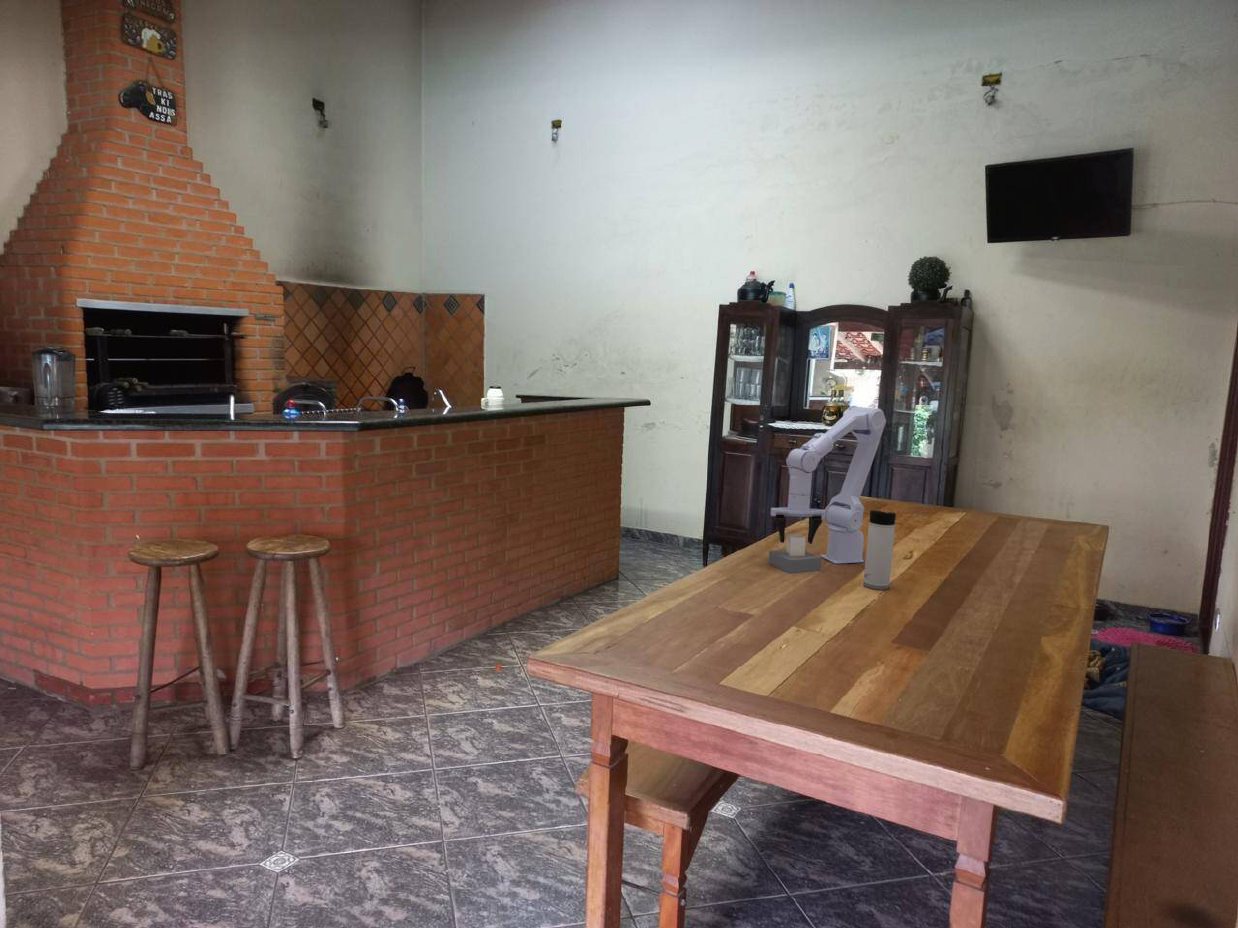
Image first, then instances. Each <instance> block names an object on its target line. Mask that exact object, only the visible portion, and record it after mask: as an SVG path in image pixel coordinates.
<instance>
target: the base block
mask: <svg viewBox="0 0 1238 928" xmlns="http://www.w3.org/2000/svg"><path fill="white" fill-rule="evenodd" d="M768 564H769V565H771V566H773V567H775V568H777V569H779V570H781V571H783V572H785V573H788V574H800V573H811V572H820V571H821V569H822V568H821V566H822V557H821V556H817V555H815V554H814V553H811V552H809V551H806V550H805V556H790V555H789V554H788V553H786V548H785V549H776V550H775V549H773V550H768Z"/></svg>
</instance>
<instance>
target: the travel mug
mask: <svg viewBox="0 0 1238 928" xmlns="http://www.w3.org/2000/svg"><path fill="white" fill-rule="evenodd" d="M896 516H897V513H895V512H891V511H888V512H885V511H881V510H874V509H873V510H870V511H869V521H868V530H867V541H866V551H865V560H864V561H865V563H864V572H863V573H864V575H863V586H864V587H865V588H868V589H871V590H875V591H877V590H878V591H885V590H888V589H889V588H890V583H891V582H890V581H891V574H892V573H891V571H892V563H893V562H892V559H893V550H894V541H895V538H894V537H895V529H896V528H895V527H896V518H897V517H896Z"/></svg>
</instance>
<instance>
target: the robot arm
mask: <svg viewBox="0 0 1238 928" xmlns="http://www.w3.org/2000/svg"><path fill="white" fill-rule="evenodd" d="M886 422H887V419H886V417H885V413H884V411H883V409H881V408H877V407H876V408H875V407H874V408H873V407H872V408H870V407H865V406H858V405H851V406H849V407H848V408H847V409H846V410H844V411H843V412H842V417H841V418H839V420H837V422H835V423H834V424H833V425H832V426H831V427H830V428H829V429H828V430H827V431H825V432H824V433H823V432H819V433H815V434H814V435H813V437H811V439H810V440H808V441H807V442H805V443H804V444H802V446H801V447H799V448H794V449H792V450H790V452H789V454H788V456H787V458H786V459H785V461H786V462H785V463H786V466H787V468H788V474H789V482H788V484H789V485H788V487H789V488H788V501H787V507H786V506H784V507H783V506H782V507H770V515H771V517H773V518H774V520H775V523H776V526H777V531H778V535H779V541H780V543H781V544H783V543H785V538H786V537H785V535H786V534H785V532H786V524H787V519H786V517H803V518H804V517H805V518H806V517H807V518H808V534H807V543H808V544H809V545H811V544H812V545H813V541H814V538H815V536H816V533H817V531H818V529H819V527H820V526H821V525H822V522H823V520H824V522H825V523H826V526H827V528H828V532H827V533H828V536H827V547H826V554H820V556H819V557H821V558H822V559H825V560H827V561H829V562H831V563H833V564H838V565H839V564H850V563H851V564H852V563H855V564H856V563H864V561H865V560H864V559H863V552H864V543H865V541H864V540H865V539H864V533H863V532H862V530H860V527H862V524H863V519H864V518H863V517H864V511H865V507H864V505H863V504H862V502H861V501H860V498H861V494H862V492H863V490H864V488H865V487H864V486H865V484H866V482H867V477H868V475H869V473H870V470H871V467H872V465H873V461H874V458H875V456H876V453H877V450H878V447H879V445H880V441H881V437H882V434H883V432H884V430H885V429H884V428H885V426H886ZM850 432H851V433H852V435H853V436H854V437H856V440H857V445H856V447H855V451H854V454H853V456H852V460H851V462H850V465H849V468H848V470H847V474H846V477H845V479H844V482H843V484H842V488H841V490H840V493H838V494H837V495H835V496H833V497H832V498H831V499H830V501H829V503H828V505H827V506H826V507H825V509H820V508H810V504H811V493H812V491H811V490H812V489H811V488H812V480H813V479H812V478H813V471H815V470H817V467H818V465H819V462H821V459H822V458H824V457H825V456H826V455H827V454H828V453H830V452H831V451H832V450H833V449H834V444H835V442H837V441H838V440H840V439H842V438H843V437H844V436H846V435H847V434H849V433H850Z"/></svg>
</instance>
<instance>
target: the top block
mask: <svg viewBox="0 0 1238 928" xmlns="http://www.w3.org/2000/svg"><path fill="white" fill-rule="evenodd" d="M785 544H786V547H785V549H786V553H788V554H789V555H790V556H805V551H806V537H805V536H804V535H802V534H800V533H799V534H796V533H795V534H792V533H791V534H788V533H787V534H786V543H785Z"/></svg>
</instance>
